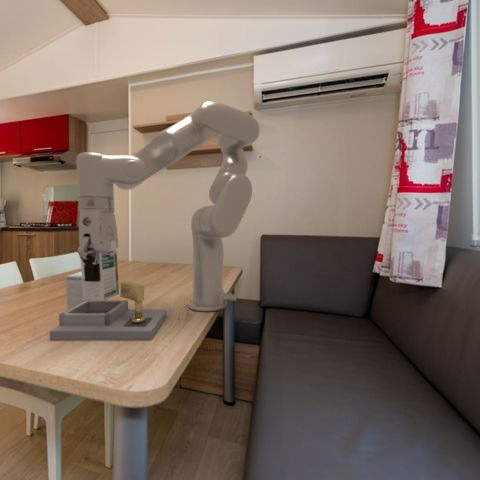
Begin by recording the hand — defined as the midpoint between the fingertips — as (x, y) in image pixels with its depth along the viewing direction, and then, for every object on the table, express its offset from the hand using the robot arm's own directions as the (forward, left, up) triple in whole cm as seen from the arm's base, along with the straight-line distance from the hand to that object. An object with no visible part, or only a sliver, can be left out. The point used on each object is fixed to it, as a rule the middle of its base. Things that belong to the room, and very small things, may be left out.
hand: (100, 276), depth 61 cm
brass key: (-9, +3, -10) cm, 13 cm away
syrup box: (0, 0, -5) cm, 5 cm away
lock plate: (-5, +2, -12) cm, 13 cm away
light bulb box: (+10, -13, -12) cm, 21 cm away
